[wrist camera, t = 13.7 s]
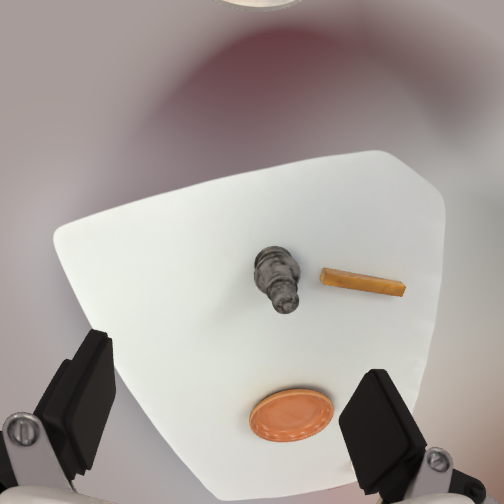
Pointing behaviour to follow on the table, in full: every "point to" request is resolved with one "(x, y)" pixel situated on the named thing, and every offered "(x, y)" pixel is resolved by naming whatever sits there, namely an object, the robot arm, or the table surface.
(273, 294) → the salt shaker
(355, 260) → the table surface
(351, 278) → the golden stick
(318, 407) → the saucer
